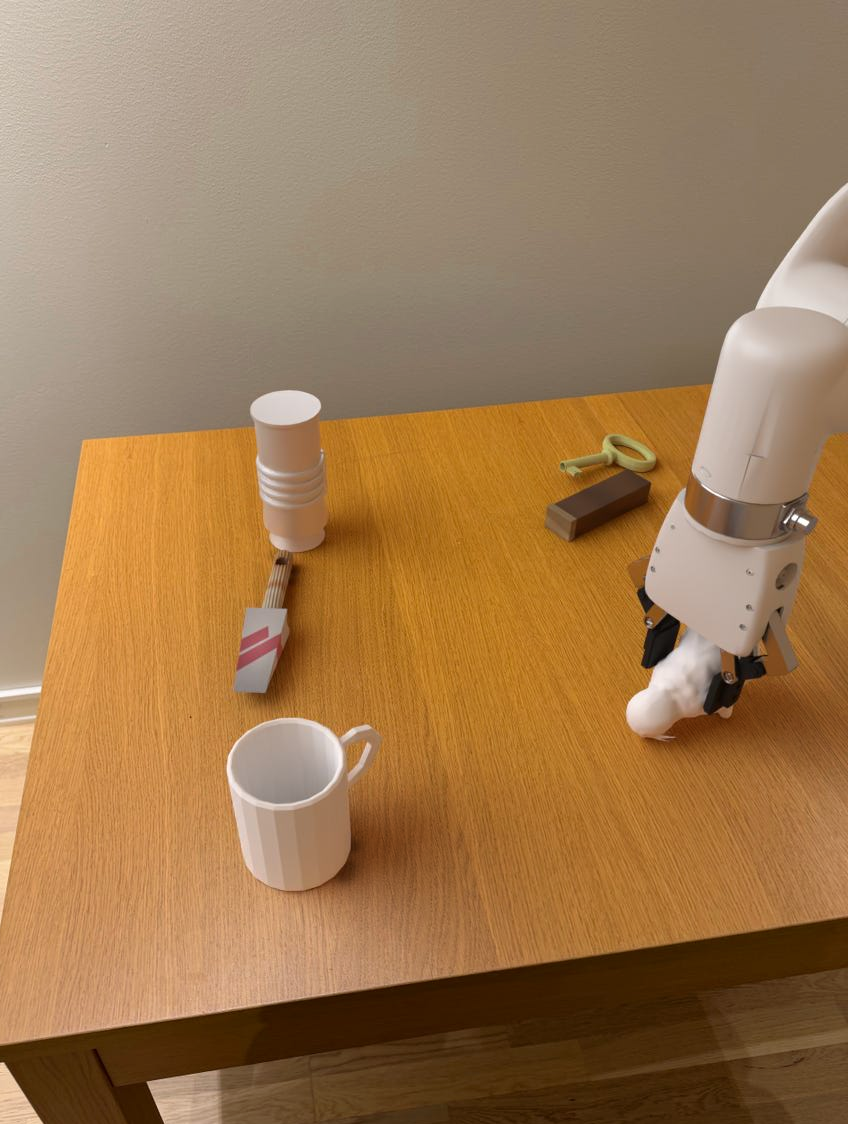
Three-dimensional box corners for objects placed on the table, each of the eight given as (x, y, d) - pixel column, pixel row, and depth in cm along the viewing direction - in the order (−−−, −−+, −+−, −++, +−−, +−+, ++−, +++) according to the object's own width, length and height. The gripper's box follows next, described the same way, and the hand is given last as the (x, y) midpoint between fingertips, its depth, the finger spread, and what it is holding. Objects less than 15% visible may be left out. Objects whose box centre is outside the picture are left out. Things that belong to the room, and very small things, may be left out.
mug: (413, 827, 70) (416, 741, 63) (280, 912, 65) (267, 829, 58) (351, 761, 75) (347, 675, 68) (223, 836, 69) (204, 751, 63)
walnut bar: (623, 487, 103) (627, 467, 101) (648, 502, 101) (652, 481, 99) (544, 525, 98) (546, 505, 96) (568, 542, 96) (571, 521, 94)
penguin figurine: (780, 630, 72) (673, 706, 68) (757, 701, 78) (658, 774, 74) (715, 589, 76) (610, 658, 72) (698, 659, 82) (601, 726, 78)
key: (553, 478, 104) (555, 462, 103) (614, 438, 111) (617, 422, 109) (607, 503, 101) (610, 486, 99) (667, 460, 107) (671, 443, 105)
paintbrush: (224, 678, 77) (265, 544, 93) (228, 702, 79) (268, 567, 94) (269, 680, 77) (303, 546, 92) (272, 704, 79) (305, 568, 94)
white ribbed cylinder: (340, 543, 96) (334, 414, 86) (279, 562, 94) (265, 432, 84) (314, 510, 101) (305, 383, 91) (255, 527, 99) (239, 400, 89)
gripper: (891, 536, 59) (805, 725, 71) (680, 429, 70) (638, 609, 82) (820, 581, 56) (743, 770, 68) (611, 461, 66) (577, 644, 79)
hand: (686, 681), depth 75 cm, fingers closed on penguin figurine, 5 cm apart
